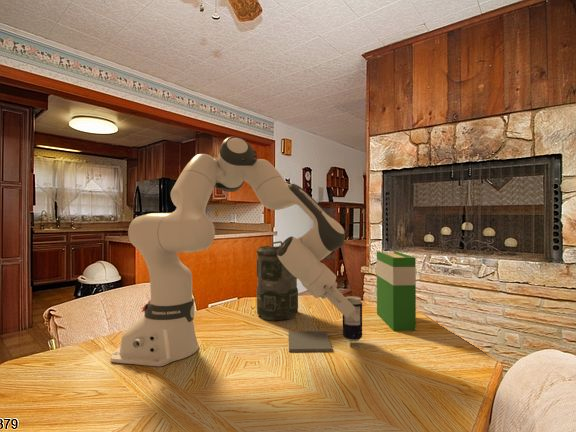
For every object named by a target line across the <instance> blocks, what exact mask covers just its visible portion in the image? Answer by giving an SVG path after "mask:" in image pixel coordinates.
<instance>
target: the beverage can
mask: <svg viewBox="0 0 576 432" xmlns="http://www.w3.org/2000/svg"><path fill="white" fill-rule="evenodd" d="M344 297H345V298H346V299H347V300H348V301H349V302H350V303H351V304H352V305H353V306H354V307H355V308H356V310H355V312H356V313H357V314H358V315H359V316H360V319H359V320H358V321H357V322H356V321H355V320H354V319H353V318H351V317H349V318H346V317H345V316H344V315H343V314H342V336H343V338H344V339H345V340H346V341H349V342H358V341H360V340H361V339H362V337H363V302H362V298H361V297H359V296H356V295H347V296H346V295H345V296H344Z"/></svg>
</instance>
